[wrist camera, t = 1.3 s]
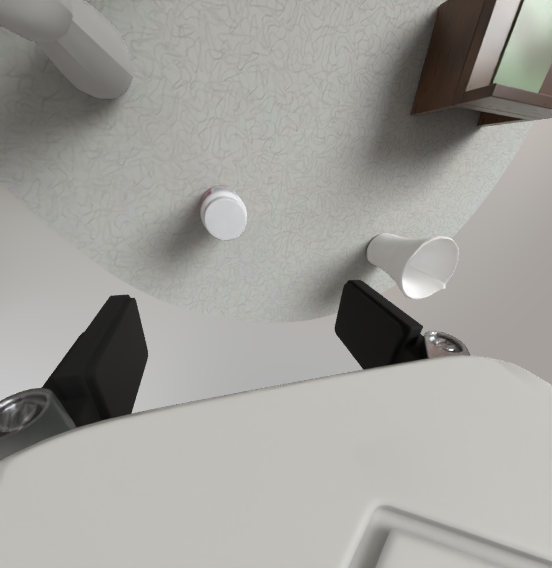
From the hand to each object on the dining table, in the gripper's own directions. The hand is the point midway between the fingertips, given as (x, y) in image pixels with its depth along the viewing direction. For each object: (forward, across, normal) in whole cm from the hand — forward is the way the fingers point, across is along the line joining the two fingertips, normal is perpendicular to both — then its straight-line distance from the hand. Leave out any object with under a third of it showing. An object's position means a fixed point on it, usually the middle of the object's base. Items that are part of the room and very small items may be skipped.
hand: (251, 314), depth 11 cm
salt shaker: (+22, +10, -14) cm, 28 cm away
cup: (+23, -26, +4) cm, 35 cm away
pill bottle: (+22, 0, -2) cm, 23 cm away
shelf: (+22, -31, -18) cm, 42 cm away
